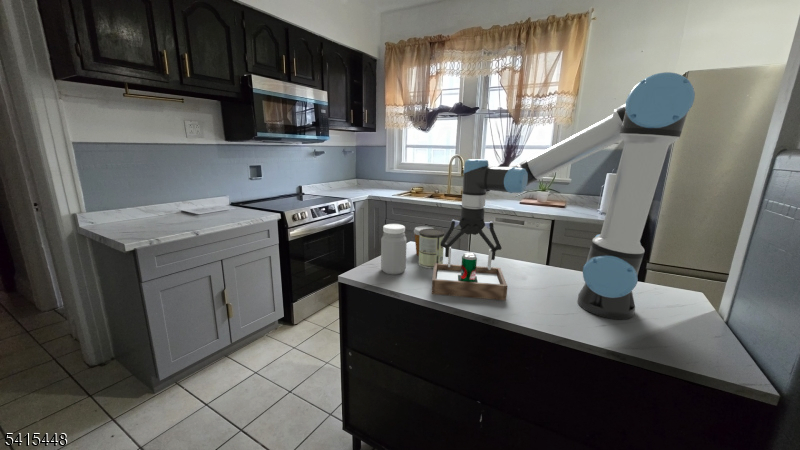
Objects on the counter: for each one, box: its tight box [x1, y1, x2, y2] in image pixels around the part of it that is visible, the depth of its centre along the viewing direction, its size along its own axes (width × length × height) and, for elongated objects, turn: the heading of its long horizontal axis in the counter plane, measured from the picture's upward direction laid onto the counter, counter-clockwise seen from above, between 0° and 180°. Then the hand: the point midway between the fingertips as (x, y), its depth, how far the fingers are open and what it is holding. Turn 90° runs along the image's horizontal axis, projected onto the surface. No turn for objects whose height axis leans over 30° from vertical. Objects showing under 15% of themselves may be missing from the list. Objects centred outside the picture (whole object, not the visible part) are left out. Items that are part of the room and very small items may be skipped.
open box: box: [431, 263, 508, 301], centre depth 113 cm, size 24×16×5 cm, turn 81°
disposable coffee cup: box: [413, 225, 434, 257], centre depth 146 cm, size 10×10×12 cm
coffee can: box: [418, 228, 446, 269], centre depth 133 cm, size 10×10×14 cm
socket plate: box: [436, 270, 500, 284], centre depth 114 cm, size 21×13×3 cm, turn 81°
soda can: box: [460, 252, 478, 282], centre depth 112 cm, size 5×5×12 cm
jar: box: [380, 223, 408, 275], centre depth 125 cm, size 10×10×18 cm
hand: (468, 267), depth 112 cm, fingers open, 13 cm apart
